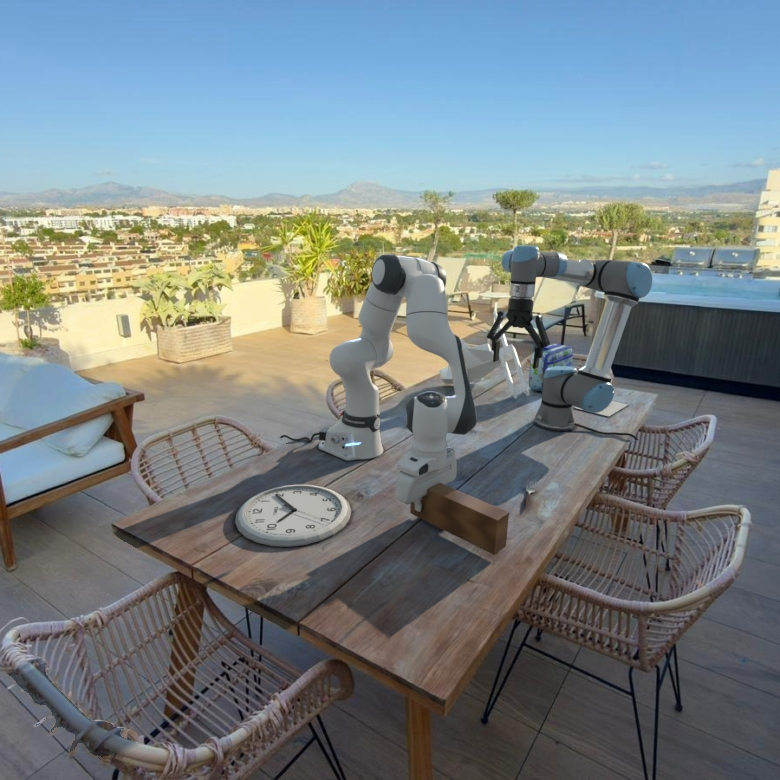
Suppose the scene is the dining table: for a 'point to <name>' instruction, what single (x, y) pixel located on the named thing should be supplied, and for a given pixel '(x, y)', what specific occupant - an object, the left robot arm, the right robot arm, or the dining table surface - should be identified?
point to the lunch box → (549, 363)
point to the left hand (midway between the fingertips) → (427, 505)
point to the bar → (465, 517)
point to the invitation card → (610, 408)
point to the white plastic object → (488, 363)
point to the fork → (529, 490)
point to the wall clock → (293, 515)
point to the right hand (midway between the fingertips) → (515, 364)
